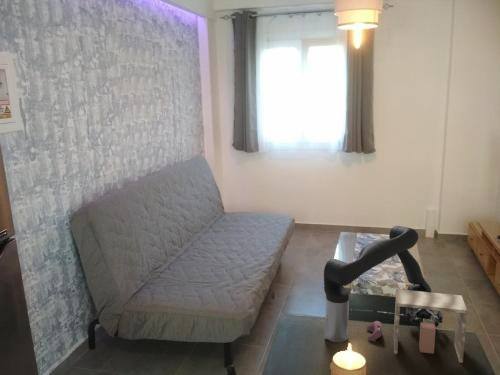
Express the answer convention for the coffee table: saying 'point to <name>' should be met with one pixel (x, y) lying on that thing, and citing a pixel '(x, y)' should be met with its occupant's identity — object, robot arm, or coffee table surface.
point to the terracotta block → (427, 337)
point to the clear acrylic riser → (433, 303)
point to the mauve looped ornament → (375, 330)
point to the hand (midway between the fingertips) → (425, 323)
